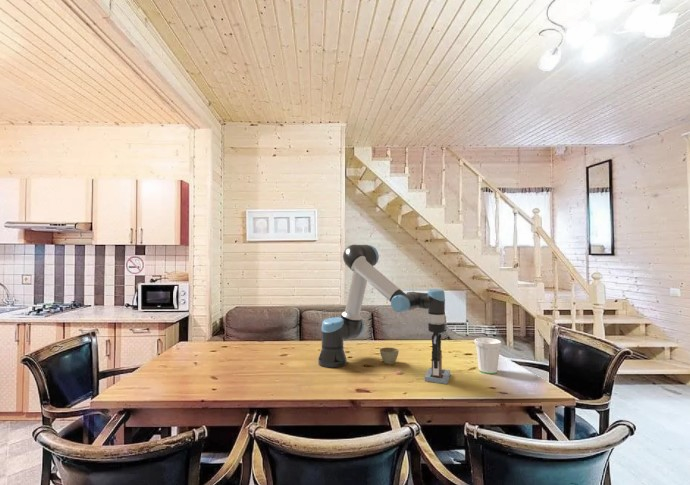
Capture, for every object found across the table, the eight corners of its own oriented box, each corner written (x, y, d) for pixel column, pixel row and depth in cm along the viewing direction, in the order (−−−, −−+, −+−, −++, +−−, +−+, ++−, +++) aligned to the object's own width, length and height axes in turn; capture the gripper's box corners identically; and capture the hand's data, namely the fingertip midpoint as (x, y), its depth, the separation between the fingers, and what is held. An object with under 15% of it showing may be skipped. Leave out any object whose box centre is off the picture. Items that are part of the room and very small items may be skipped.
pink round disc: (392, 373, 175) (392, 373, 175) (394, 370, 180) (394, 369, 180) (402, 374, 173) (402, 374, 173) (404, 371, 178) (404, 371, 178)
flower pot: (398, 366, 185) (398, 352, 186) (378, 365, 187) (379, 351, 188) (399, 360, 195) (399, 347, 195) (380, 359, 197) (380, 346, 197)
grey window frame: (424, 381, 165) (424, 376, 165) (429, 371, 178) (429, 367, 178) (447, 384, 161) (447, 379, 161) (450, 374, 174) (450, 370, 174)
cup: (481, 365, 187) (481, 336, 188) (505, 371, 178) (505, 340, 179) (470, 371, 179) (470, 340, 179) (495, 377, 170) (494, 345, 170)
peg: (431, 377, 165) (431, 351, 165) (433, 375, 169) (433, 349, 169) (440, 379, 163) (440, 352, 164) (441, 376, 167) (441, 350, 167)
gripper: (442, 327, 157) (442, 380, 157) (446, 320, 173) (447, 368, 173) (425, 325, 160) (425, 378, 160) (431, 319, 176) (431, 367, 175)
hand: (436, 373), depth 166 cm, fingers closed on peg, 4 cm apart
